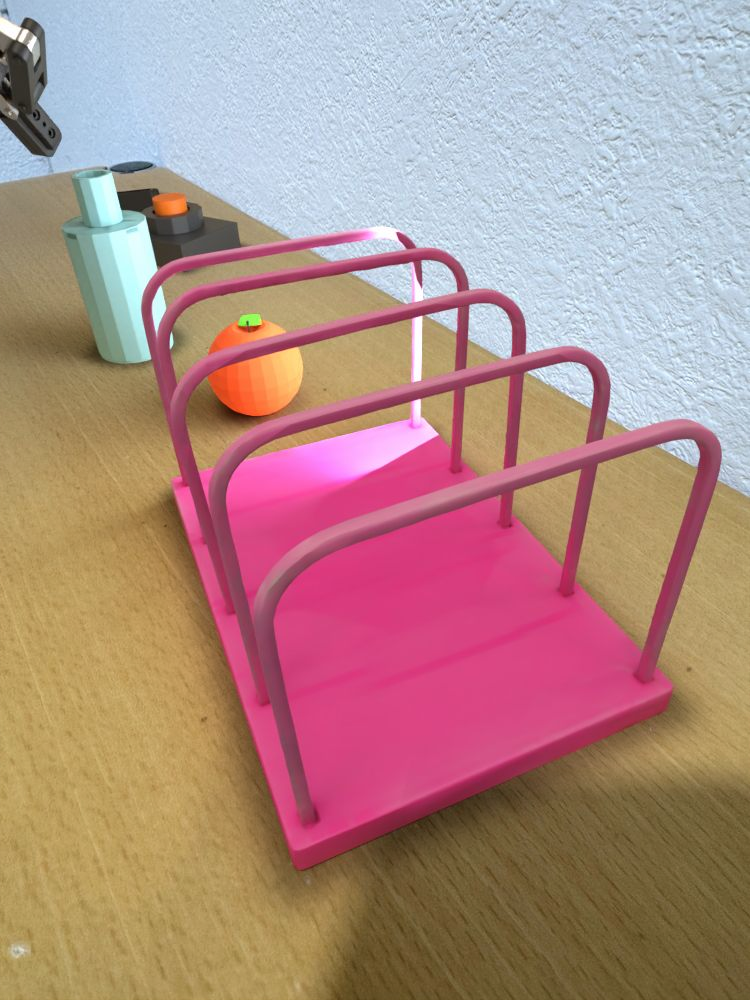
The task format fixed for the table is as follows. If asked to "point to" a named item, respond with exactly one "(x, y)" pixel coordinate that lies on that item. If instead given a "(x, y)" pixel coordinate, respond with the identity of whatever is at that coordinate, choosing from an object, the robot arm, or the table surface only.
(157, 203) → the button
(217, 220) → the dock
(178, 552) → the table surface
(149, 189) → the phone
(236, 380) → the clementine
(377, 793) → the file sorter
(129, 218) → the mint green bottle
